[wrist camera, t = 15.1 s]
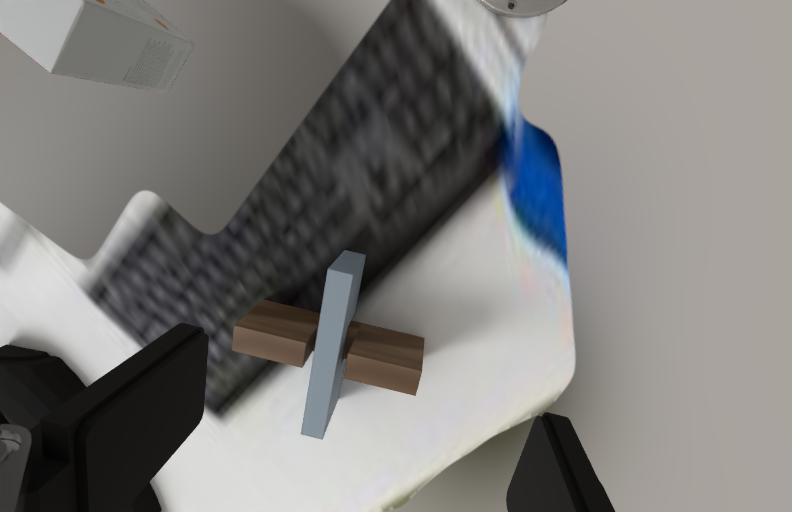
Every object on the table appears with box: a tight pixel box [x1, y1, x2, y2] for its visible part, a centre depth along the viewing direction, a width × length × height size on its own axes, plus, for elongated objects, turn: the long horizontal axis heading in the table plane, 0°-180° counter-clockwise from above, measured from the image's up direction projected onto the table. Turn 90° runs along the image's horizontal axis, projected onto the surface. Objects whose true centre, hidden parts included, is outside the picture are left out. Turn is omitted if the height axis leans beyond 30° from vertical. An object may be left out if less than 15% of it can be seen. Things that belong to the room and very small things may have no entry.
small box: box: [0, 0, 194, 94], centre depth 33 cm, size 8×6×13 cm
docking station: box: [0, 345, 161, 512], centre depth 56 cm, size 25×40×5 cm, turn 22°
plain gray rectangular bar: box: [301, 250, 366, 439], centre depth 43 cm, size 20×2×7 cm, turn 168°
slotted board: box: [232, 300, 424, 396], centre depth 43 cm, size 3×20×7 cm, turn 78°
